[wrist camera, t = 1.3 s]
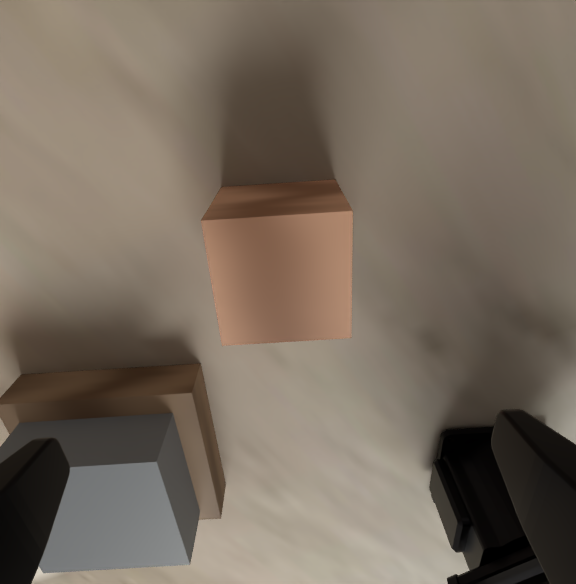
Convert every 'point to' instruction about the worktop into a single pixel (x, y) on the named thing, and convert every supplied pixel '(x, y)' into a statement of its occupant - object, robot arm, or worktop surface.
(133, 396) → the tower base block
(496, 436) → the robot arm
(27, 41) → the worktop surface
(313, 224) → the terracotta cube
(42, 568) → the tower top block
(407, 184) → the worktop surface
